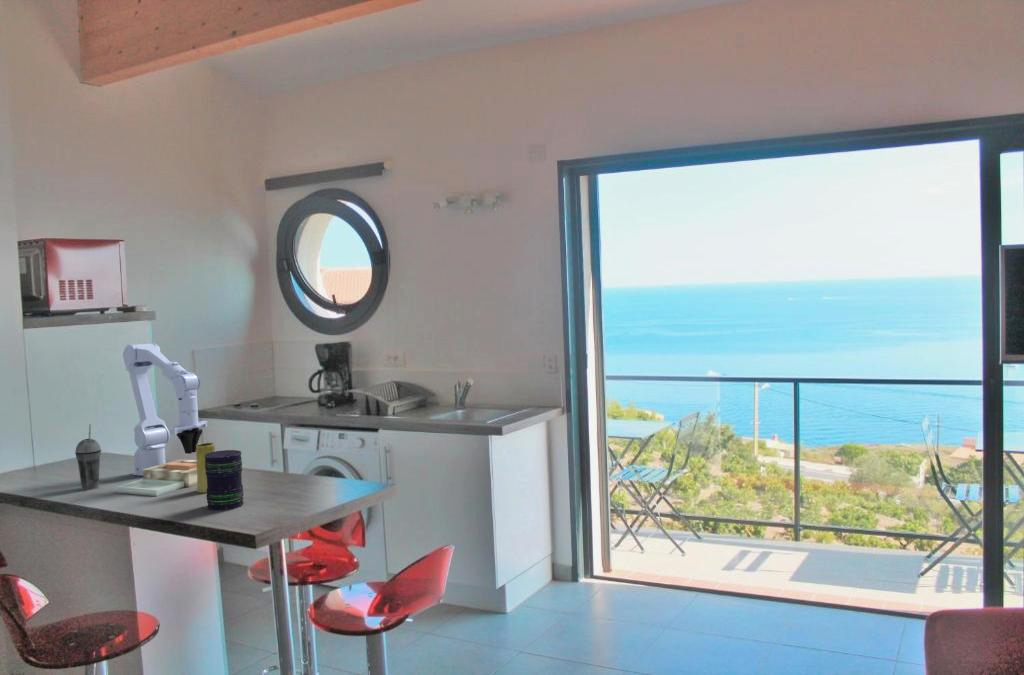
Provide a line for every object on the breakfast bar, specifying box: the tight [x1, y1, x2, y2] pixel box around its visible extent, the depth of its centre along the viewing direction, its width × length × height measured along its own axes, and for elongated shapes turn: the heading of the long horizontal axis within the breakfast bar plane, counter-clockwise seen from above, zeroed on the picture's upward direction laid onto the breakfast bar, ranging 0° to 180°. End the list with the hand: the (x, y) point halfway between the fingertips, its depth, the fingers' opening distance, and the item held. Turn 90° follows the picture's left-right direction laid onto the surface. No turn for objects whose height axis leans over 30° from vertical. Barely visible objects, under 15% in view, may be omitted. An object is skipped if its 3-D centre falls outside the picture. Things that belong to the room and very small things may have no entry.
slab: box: [165, 461, 197, 471], centre depth 258 cm, size 10×4×3 cm, turn 69°
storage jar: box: [205, 449, 245, 512], centre depth 223 cm, size 10×10×15 cm
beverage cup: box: [74, 424, 102, 491], centre depth 249 cm, size 7×7×20 cm
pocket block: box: [142, 458, 197, 488], centre depth 258 cm, size 18×16×4 cm
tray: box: [115, 478, 185, 497], centre depth 245 cm, size 16×11×2 cm
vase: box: [195, 442, 216, 494], centre depth 242 cm, size 6×6×14 cm
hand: (190, 452), depth 256 cm, fingers closed
